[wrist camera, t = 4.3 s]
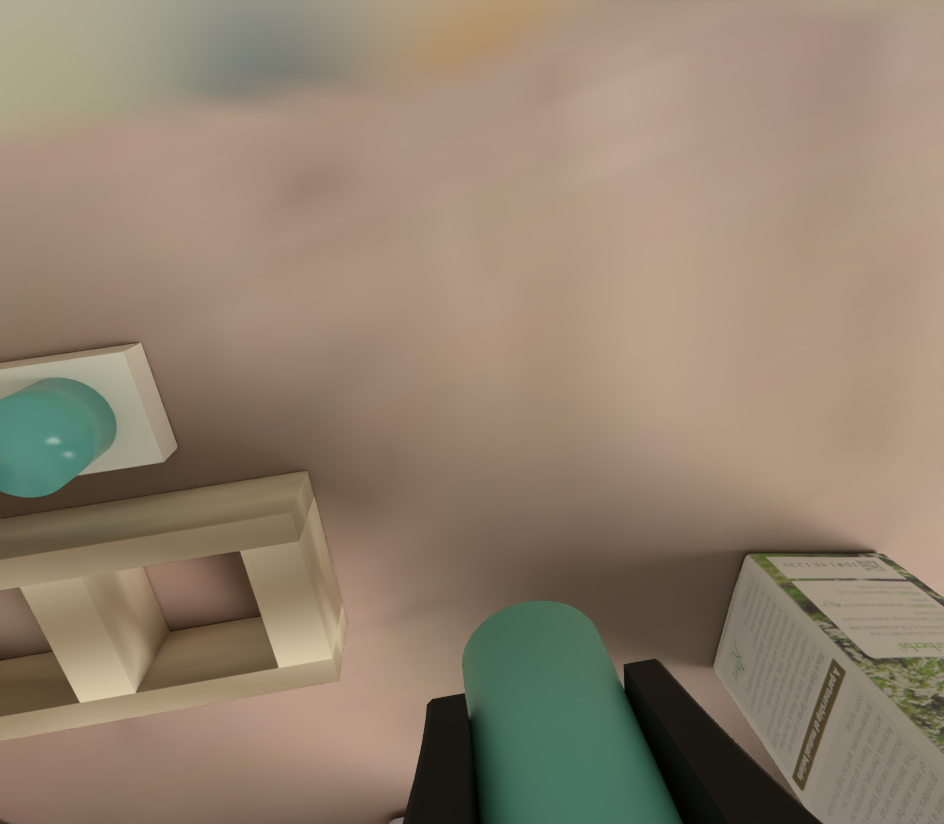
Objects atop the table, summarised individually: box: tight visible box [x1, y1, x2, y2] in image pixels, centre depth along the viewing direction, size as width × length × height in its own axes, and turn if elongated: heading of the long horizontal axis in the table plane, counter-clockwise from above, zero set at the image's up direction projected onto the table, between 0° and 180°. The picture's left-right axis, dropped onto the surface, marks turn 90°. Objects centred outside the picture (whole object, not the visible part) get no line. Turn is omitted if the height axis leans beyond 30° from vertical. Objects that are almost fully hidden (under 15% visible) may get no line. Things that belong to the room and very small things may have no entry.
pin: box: [462, 601, 683, 824], centre depth 9 cm, size 3×3×6 cm
